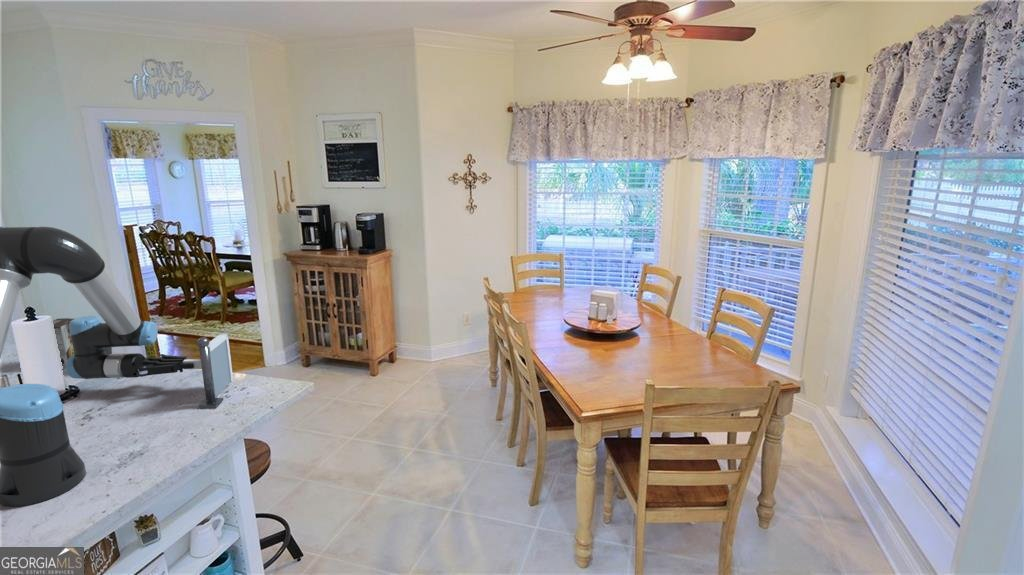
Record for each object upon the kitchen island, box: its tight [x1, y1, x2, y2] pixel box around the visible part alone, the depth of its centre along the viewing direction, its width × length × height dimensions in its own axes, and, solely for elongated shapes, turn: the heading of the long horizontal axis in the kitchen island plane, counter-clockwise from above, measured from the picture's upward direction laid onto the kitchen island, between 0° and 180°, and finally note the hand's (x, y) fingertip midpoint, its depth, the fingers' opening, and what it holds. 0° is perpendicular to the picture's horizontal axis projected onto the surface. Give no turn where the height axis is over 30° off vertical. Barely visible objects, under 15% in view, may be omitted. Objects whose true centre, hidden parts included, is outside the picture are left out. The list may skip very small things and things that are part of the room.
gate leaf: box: [208, 332, 234, 398], centre depth 161 cm, size 12×2×17 cm, turn 6°
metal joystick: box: [196, 336, 224, 410], centre depth 153 cm, size 5×5×22 cm
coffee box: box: [52, 317, 77, 371], centre depth 180 cm, size 9×6×16 cm
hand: (206, 363), depth 163 cm, fingers closed
